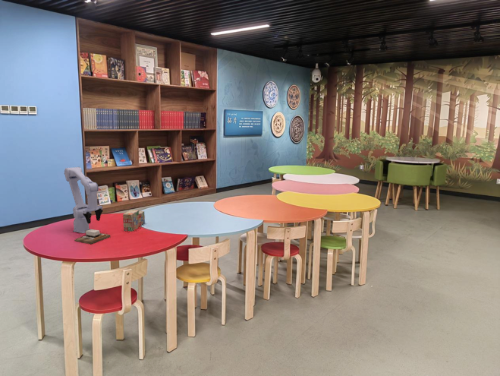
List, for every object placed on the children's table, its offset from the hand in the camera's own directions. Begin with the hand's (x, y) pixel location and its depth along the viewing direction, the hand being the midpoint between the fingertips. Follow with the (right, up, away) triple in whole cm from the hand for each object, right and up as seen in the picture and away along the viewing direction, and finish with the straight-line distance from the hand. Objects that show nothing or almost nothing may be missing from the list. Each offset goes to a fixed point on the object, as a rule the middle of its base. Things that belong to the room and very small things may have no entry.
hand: (93, 221), depth 247 cm
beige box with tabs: (+2, -9, -5) cm, 11 cm away
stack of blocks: (+20, -6, +23) cm, 31 cm away
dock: (+2, -10, -5) cm, 12 cm away
